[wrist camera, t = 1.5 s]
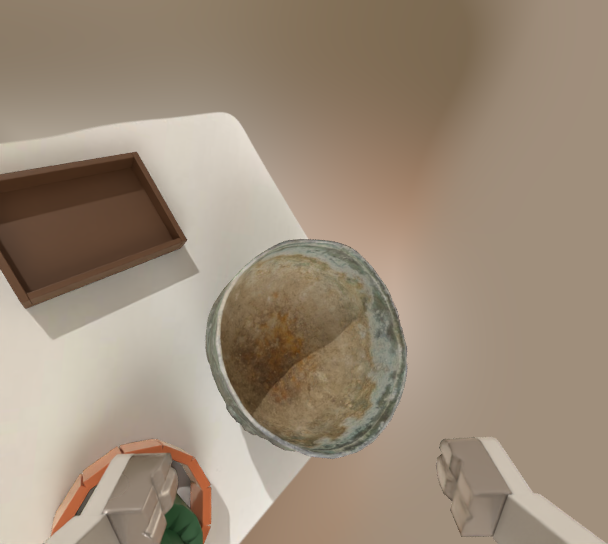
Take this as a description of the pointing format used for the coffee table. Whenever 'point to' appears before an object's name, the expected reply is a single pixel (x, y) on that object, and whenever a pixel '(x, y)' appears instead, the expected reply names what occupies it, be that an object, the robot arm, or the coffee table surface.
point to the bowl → (308, 349)
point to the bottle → (181, 525)
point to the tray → (80, 224)
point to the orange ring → (94, 472)
